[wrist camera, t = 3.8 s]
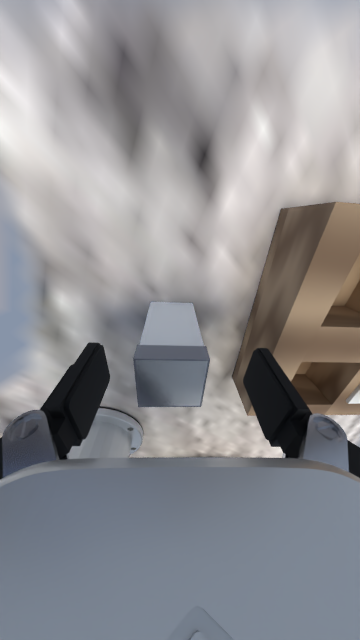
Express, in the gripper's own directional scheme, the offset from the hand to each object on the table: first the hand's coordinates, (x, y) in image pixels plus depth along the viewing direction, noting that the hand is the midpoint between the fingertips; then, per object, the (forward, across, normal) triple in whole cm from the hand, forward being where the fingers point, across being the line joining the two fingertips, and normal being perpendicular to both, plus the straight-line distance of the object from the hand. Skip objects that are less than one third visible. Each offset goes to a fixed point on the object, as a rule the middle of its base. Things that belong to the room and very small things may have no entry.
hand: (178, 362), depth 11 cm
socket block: (+7, -14, 0) cm, 16 cm away
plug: (+7, +1, +1) cm, 7 cm away
